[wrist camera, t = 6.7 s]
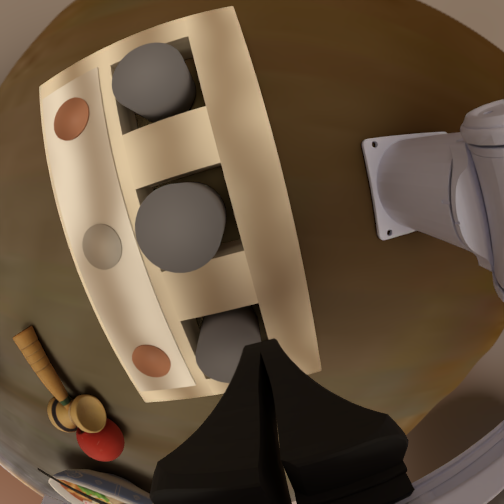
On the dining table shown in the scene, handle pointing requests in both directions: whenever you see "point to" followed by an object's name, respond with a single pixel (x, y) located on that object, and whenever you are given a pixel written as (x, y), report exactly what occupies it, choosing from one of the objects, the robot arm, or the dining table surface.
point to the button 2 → (181, 226)
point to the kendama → (73, 406)
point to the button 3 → (225, 341)
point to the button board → (164, 170)
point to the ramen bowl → (96, 488)
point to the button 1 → (154, 82)
